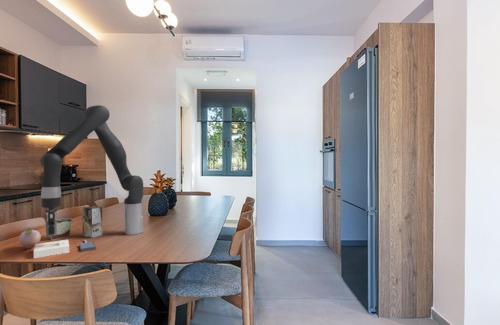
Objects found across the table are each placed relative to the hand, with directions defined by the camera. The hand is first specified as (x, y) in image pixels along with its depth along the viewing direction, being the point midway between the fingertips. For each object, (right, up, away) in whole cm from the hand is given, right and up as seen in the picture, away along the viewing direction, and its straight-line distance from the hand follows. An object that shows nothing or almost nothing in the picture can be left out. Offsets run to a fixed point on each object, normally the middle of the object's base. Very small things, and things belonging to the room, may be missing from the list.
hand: (51, 233), depth 132 cm
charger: (0, -1, 0) cm, 1 cm away
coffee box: (+4, -8, +28) cm, 29 cm away
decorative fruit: (-14, -9, +5) cm, 17 cm away
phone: (+11, -8, +9) cm, 17 cm away
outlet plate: (0, -9, 0) cm, 9 cm away
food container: (-13, -9, +24) cm, 29 cm away
